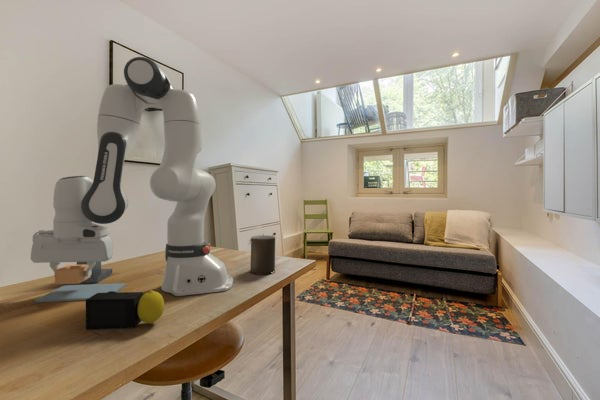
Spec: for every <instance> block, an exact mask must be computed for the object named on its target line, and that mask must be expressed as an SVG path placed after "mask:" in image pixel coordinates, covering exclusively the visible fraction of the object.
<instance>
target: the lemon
mask: <svg viewBox="0 0 600 400" xmlns="http://www.w3.org/2000/svg"><path fill="white" fill-rule="evenodd" d="M164 310H165V301H164V297H163V295H162V294H161V293H160V292H158V291H156V290H155V291H154V290H153V289H151V290H148V292H146V293H143V296H142V297H141V298H140V300H139V303H138V308H137V311H138V316H139V318H140V319H141V320H142V321H141V322H143V323H147V324H148V325H153V324H154V322H156V321H158V320H159V319H160V318H161V317H162V316H163V313H164Z"/></svg>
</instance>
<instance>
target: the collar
mask: <svg viewBox="0 0 600 400" xmlns="http://www.w3.org/2000/svg"><path fill="white" fill-rule="evenodd" d="M88 266H89V265H87V264H85V265H77V264H67V265H65V266H62V267H60V269H57V270H55V277H54V284H55V285H80V284H79V283H81V282H82V281H84V280H86V279H88V278H90V277H91V276H83V271H84V270H86V269H87V268H88Z"/></svg>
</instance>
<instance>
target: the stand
mask: <svg viewBox="0 0 600 400" xmlns="http://www.w3.org/2000/svg"><path fill="white" fill-rule="evenodd" d="M85 264H87V262H76V265H85ZM112 275H113V268H102V262H96V264H95V266H94V267H93V269H92V274H91V277H90V278H88V279H86V280H84V281H82V282H81V283H79V284H78V285H88V284H100V282H101V281H103V280H105V279H107V278H108V277H110V276H112Z"/></svg>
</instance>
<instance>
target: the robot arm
mask: <svg viewBox="0 0 600 400" xmlns="http://www.w3.org/2000/svg"><path fill="white" fill-rule="evenodd" d="M123 77H124V80H125V83H126V84H123V83H122V84H119V83H114V84H110V85H108V86H107V87H106V88H105V90H104V92H103V94H102V96H101V97H102V98H101V101H100V105H99V109H98V116H97V124H96V125H97V126H96V127H97V128H96V130H97V160H96V165H95V171H94V178H93V179H92V178H91V177H89V176H86V175H73V176H72V175H71V176H66V177H61V178H60V179H59V180H57V181H56V182H55V185H54V189H53V202H52V203H53V204H52V205H53V209H54V214H55V215H54V217H53V225H52V226H53V227H52V228H53V229H52V230H50V229H49V230H38V231H37V232H35V233H34V234H33V235H32V244H31V250H30V261H32V262H33V263H34V264H38V263H45V264H46V263H49V267H50V269H51V270H52V271H53V272H54V278H55V270H57V269H60V268H61V267H60V264H61V263H77V262H87V265H89V266H88V268H87V269H86V270H84V271H83V276H91V274H92V269H93V267H94V266H95V264H96V262H101V263H102V262H107V261H109V260H111V259H112V258H113V257H114V245H113V244H114V243H113V241H112V240H113V239H112V237H110V236H109V235H110V233H111V229H110V228H109V227H106V226H103V225H107V224H112V223H114V222H117V221H118V220H120V218H122V216H123V215H124V213H125V211H126V210H127V208H128V205H129V200H128V197H127V195H126V194H125V193H124V192H123V191H121V184H122V176H123V172H124V171H123V169H124V165H125V159H126V157H127V155H128V153H129V152H130V151H131V150H132V149H133V147H135V146H136V143H137V140H138V137H139V133H140V129H141V128H140V127H141V120H142V114H143V112H144V110H145V112H150V113H151V112H156V111H157V112H162V113H163V114H162V116H163V131H164V135H163V136H164V151H163V154H162V158H161V162H160V164H159V166H158V167H157V168H156V169H155V170H153V172H152V174H151V176H150V179H149V186H150V190H151V192H152V193H153V194H154V196H155V197H157V198H158V199H160V200H161V199H162V200H164V201H169V202H176V206H175V209H174V210H173V212H172V213H171V215H169V218H168V220H167V228H166V229H167V234H166V235H167V237H166V238H167V243H166V244H165V251H164V254H165V255H164V256H165V257H164V258H165V262H166V263H165V273H164V277H163V281H162V284H161V290H162V291H163V292H166V293H170V294H172V295H174V296H175V297H182V296H190V295H199V294H207V293H208V294H209V293H217V292H218V293H219V292H225V291H226V292H227V291H228V290H230V289H231V288H232V287H233V286H234V278H233V277H232V276H231V275H229V274H228V272H227V267H226V264H225V263H224V262H223V261H222V260H220V259H219V258H217V257H216V256H215V255H213V254H211V253H210V252H211V245H210V244H211V243H207V242H205V239H204V238H205V236H204V235H205V217H206V212H207V210H208V206H209V202H210V198H211V197H212V195H213V194H214V193H215V191H216V189H217V188H216V186H217V185H216V179H215V177H213V175H212V174H210V173H209V172H207V171H205V170H203V169H200V168H199V169H198V168H195V165H196V160H197V156H198V154H199V153H200V152H201V151H202V150H203V149H202V148H203V144H202V143H203V142H202V130H201V129H202V128H201V127H202V125H201V118H200V117H201V115H200V111H199V106H198V102H197V99H196V97H195V96H194V94H192V92H190V91H188V90H185V89H181V88H180V89H179V88H178V89H177V88H175V87H174V86H173V84H172V83H171V80H170V78H169V77H168V76H167V74H166V73H165V72H164V70H163V69H162V67H161V66H159V64H157V63H156V62H155V61H154V60H151V59H149V58H148V57H145V56H144V57H143V56H137V57H133V58H131V59H130V60H128V61H127V62H126V64H125V66H124V69H123ZM99 224H100V225H99Z"/></svg>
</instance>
